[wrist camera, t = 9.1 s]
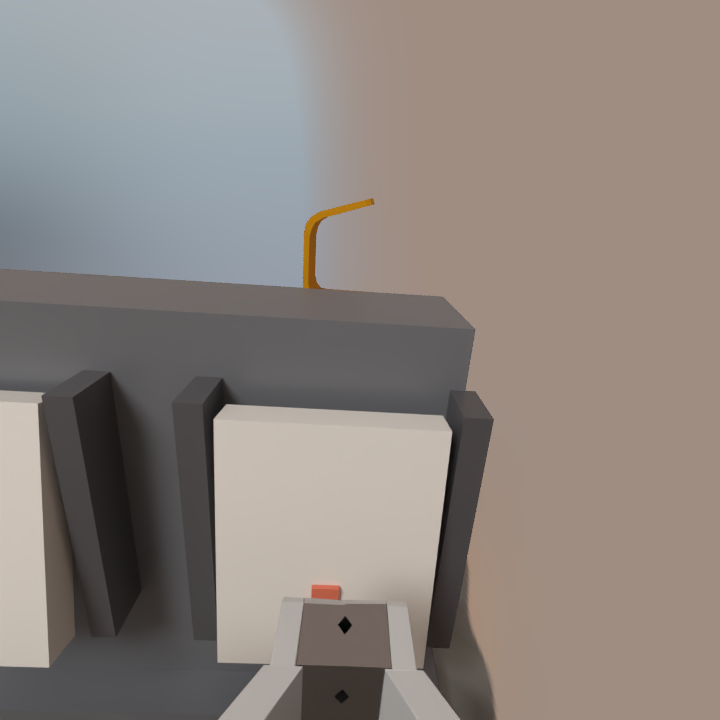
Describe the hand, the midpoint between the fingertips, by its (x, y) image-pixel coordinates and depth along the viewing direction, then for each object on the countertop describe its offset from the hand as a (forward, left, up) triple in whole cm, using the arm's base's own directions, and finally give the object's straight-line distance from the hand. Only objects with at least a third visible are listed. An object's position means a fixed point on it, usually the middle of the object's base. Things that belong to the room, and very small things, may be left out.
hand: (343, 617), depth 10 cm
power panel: (-8, +11, -15) cm, 20 cm away
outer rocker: (-1, +5, -8) cm, 9 cm away
